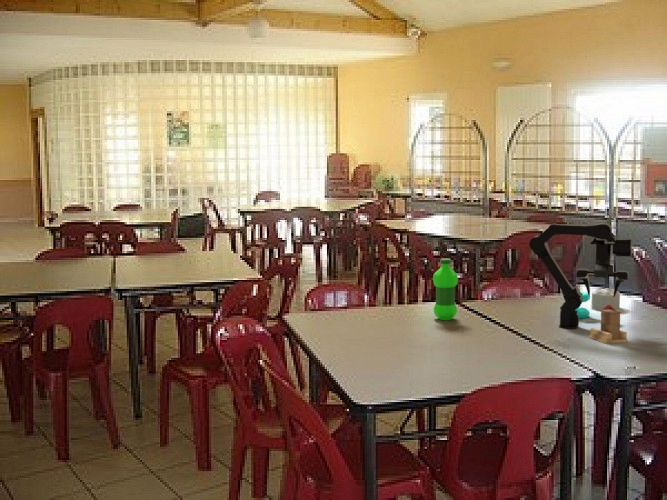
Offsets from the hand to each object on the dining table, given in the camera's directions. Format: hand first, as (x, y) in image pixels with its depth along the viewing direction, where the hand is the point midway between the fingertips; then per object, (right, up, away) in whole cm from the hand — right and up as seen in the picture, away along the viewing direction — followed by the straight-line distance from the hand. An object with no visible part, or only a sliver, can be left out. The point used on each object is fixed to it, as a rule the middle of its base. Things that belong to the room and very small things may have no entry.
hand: (601, 296), depth 306 cm
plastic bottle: (-57, -11, +23) cm, 62 cm away
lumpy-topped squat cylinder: (+16, -8, +41) cm, 45 cm away
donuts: (-2, -10, +25) cm, 27 cm away
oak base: (-3, -15, -15) cm, 22 cm away
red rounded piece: (+7, -12, +12) cm, 18 cm away
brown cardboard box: (-3, -14, -16) cm, 22 cm away
